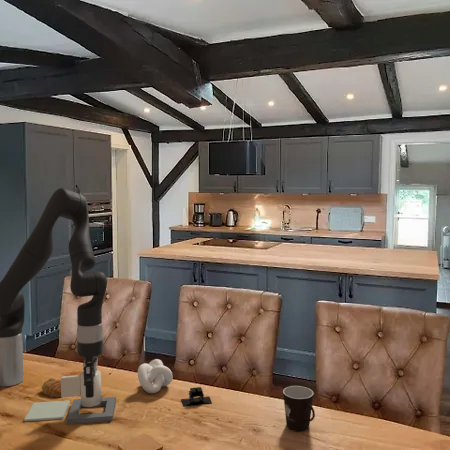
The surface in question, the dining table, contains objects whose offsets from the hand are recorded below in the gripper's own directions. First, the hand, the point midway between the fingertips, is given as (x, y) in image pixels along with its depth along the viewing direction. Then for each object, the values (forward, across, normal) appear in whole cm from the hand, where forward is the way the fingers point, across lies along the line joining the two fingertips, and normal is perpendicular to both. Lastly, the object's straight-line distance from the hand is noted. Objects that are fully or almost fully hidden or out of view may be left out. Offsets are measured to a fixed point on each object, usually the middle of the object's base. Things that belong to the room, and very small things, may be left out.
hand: (91, 392), depth 142 cm
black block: (+7, +2, -32) cm, 33 cm away
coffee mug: (+6, -20, -59) cm, 63 cm away
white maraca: (+3, 0, +3) cm, 4 cm away
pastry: (+7, +18, +14) cm, 23 cm away
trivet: (+6, +3, +13) cm, 15 cm away
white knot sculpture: (+7, +14, -19) cm, 24 cm away
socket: (+6, 0, 0) cm, 6 cm away
